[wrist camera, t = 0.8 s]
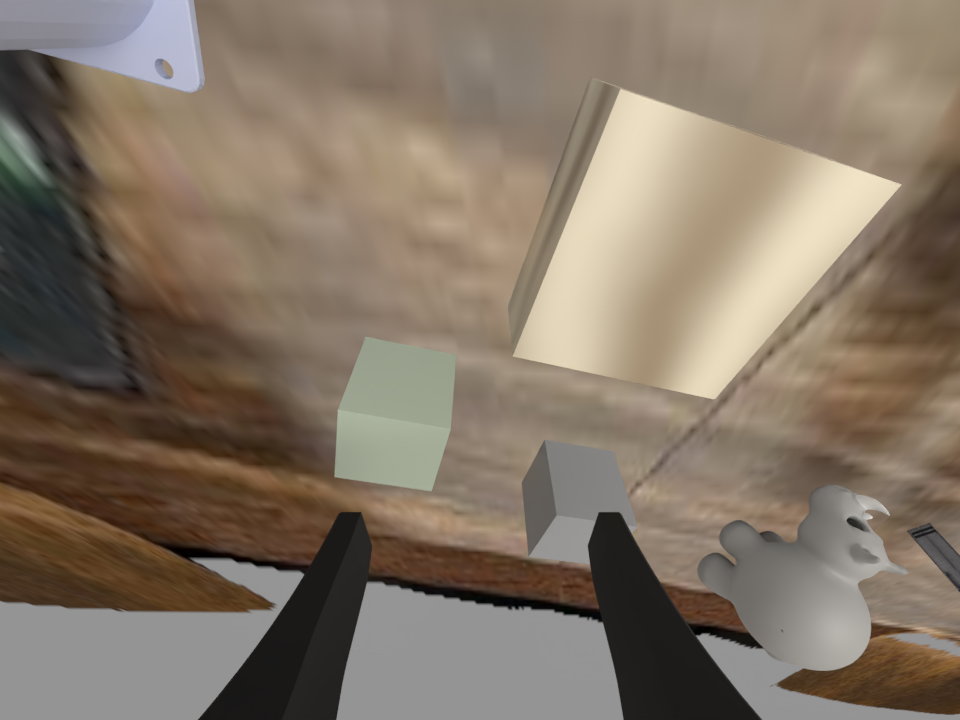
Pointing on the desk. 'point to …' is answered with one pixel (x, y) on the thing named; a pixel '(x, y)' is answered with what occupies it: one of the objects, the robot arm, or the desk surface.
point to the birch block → (677, 243)
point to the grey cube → (570, 499)
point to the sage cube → (395, 415)
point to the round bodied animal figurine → (804, 580)
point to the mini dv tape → (938, 551)
